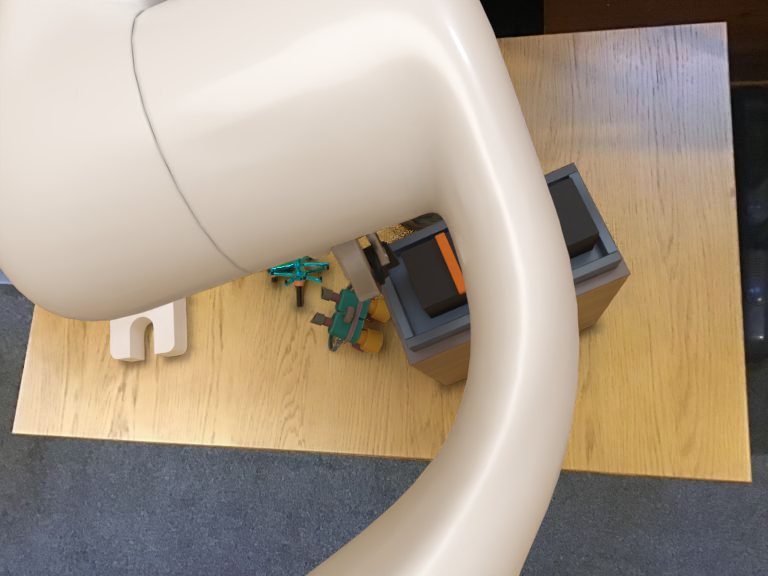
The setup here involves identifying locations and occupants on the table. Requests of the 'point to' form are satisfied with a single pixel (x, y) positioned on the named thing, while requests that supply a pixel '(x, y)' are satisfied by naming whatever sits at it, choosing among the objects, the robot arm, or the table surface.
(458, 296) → the black banded block
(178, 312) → the white slotted bracket
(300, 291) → the stick construction toy
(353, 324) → the binoculars
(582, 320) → the brown and grey box
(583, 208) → the dark grey block
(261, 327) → the table surface
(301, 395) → the table surface
